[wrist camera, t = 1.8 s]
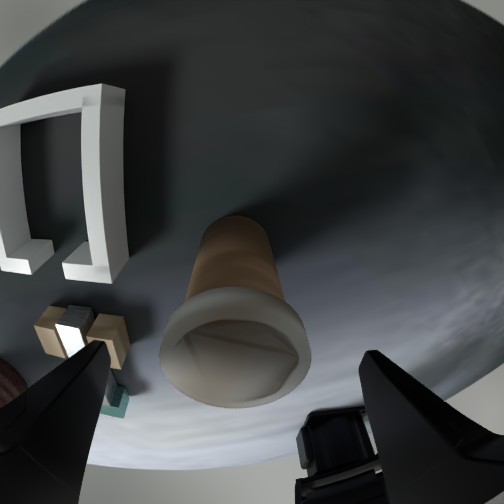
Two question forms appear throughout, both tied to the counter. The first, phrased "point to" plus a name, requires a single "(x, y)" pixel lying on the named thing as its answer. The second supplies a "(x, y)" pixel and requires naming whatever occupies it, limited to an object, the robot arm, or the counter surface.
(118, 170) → the socket
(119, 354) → the pin mount
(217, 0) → the counter surface
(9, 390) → the can
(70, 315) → the lock pin
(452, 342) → the counter surface
